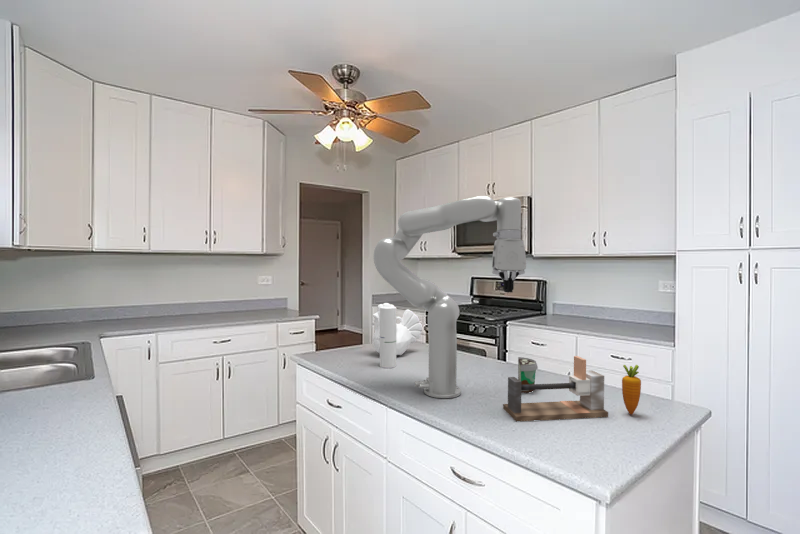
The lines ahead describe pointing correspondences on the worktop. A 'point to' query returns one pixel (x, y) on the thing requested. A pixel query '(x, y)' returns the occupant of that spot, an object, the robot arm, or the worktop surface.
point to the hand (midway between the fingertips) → (508, 292)
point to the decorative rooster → (399, 330)
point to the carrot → (631, 389)
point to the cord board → (556, 410)
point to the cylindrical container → (388, 336)
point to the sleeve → (580, 378)
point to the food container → (526, 372)
